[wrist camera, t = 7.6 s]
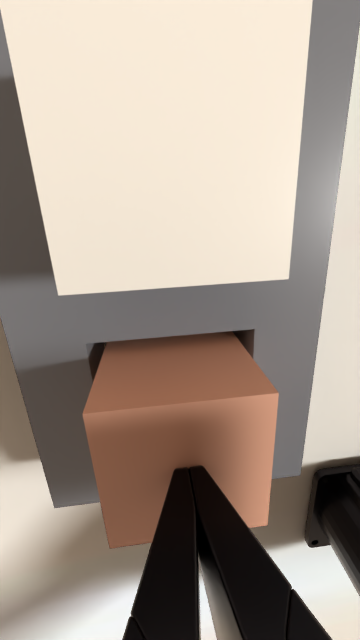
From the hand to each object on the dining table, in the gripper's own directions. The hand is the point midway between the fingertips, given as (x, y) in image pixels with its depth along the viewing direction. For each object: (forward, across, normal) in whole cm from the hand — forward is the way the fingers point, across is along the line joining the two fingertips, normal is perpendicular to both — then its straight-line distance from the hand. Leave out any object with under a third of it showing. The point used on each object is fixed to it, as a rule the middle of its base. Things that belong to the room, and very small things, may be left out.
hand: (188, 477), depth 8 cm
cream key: (+5, 0, -8) cm, 9 cm away
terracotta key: (+5, 0, 0) cm, 5 cm away
